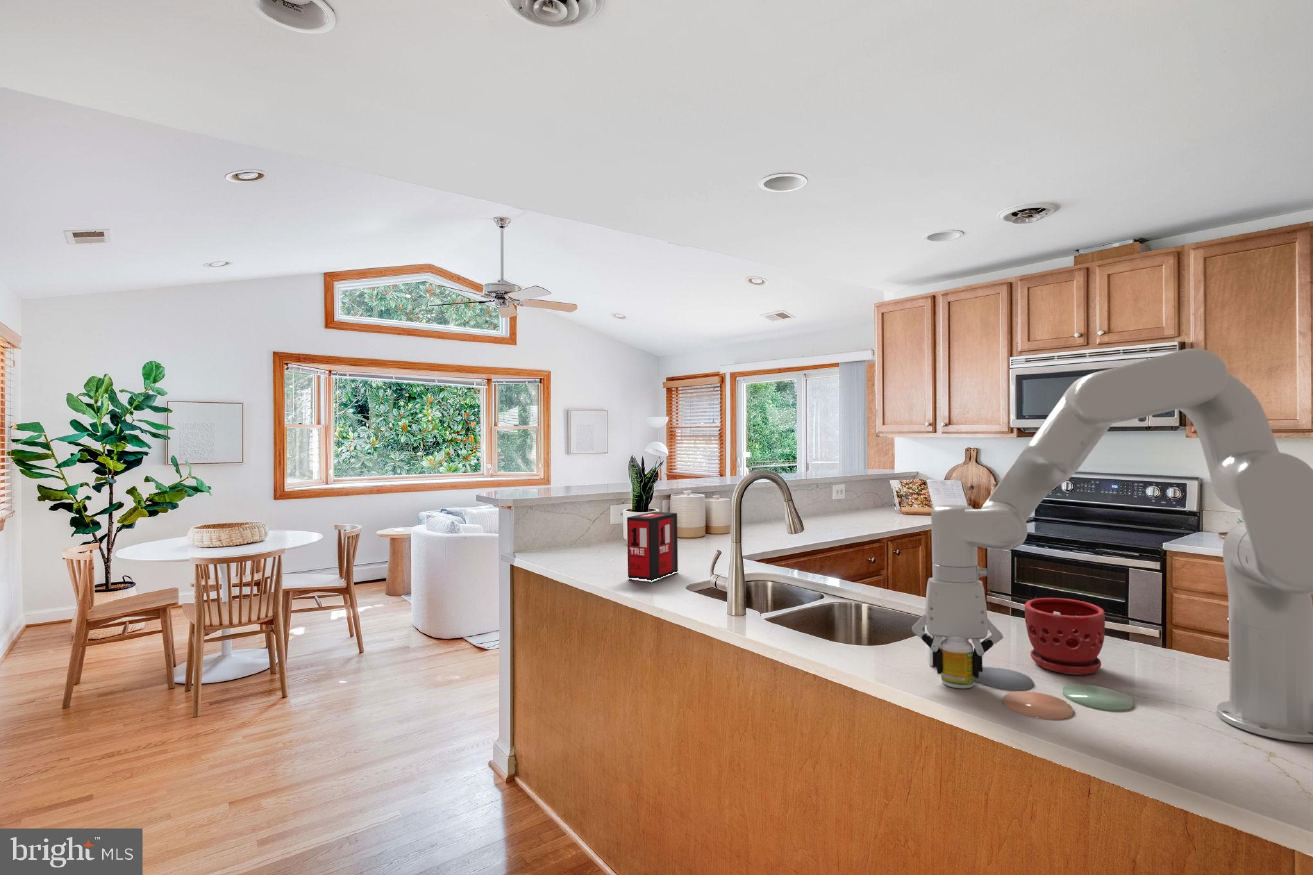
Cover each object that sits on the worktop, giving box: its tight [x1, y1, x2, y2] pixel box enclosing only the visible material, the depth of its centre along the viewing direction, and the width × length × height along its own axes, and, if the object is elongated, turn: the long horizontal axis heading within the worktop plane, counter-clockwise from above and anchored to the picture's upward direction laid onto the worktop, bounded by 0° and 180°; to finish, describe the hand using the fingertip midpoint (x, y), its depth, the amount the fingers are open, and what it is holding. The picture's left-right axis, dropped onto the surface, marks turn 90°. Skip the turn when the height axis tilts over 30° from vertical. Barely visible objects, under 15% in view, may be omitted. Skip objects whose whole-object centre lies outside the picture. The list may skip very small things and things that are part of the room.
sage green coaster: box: [1062, 683, 1134, 712], centre depth 111 cm, size 10×10×1 cm
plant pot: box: [1024, 597, 1106, 676], centre depth 126 cm, size 13×13×12 cm
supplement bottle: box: [940, 637, 975, 689], centre depth 118 cm, size 5×5×10 cm
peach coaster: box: [1002, 690, 1074, 720], centre depth 108 cm, size 10×10×1 cm
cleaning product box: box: [626, 511, 679, 581], centre depth 212 cm, size 16×9×20 cm, turn 148°
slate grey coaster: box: [974, 667, 1034, 691], centre depth 120 cm, size 10×10×1 cm
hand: (957, 672), depth 118 cm, fingers closed on supplement bottle, 5 cm apart
